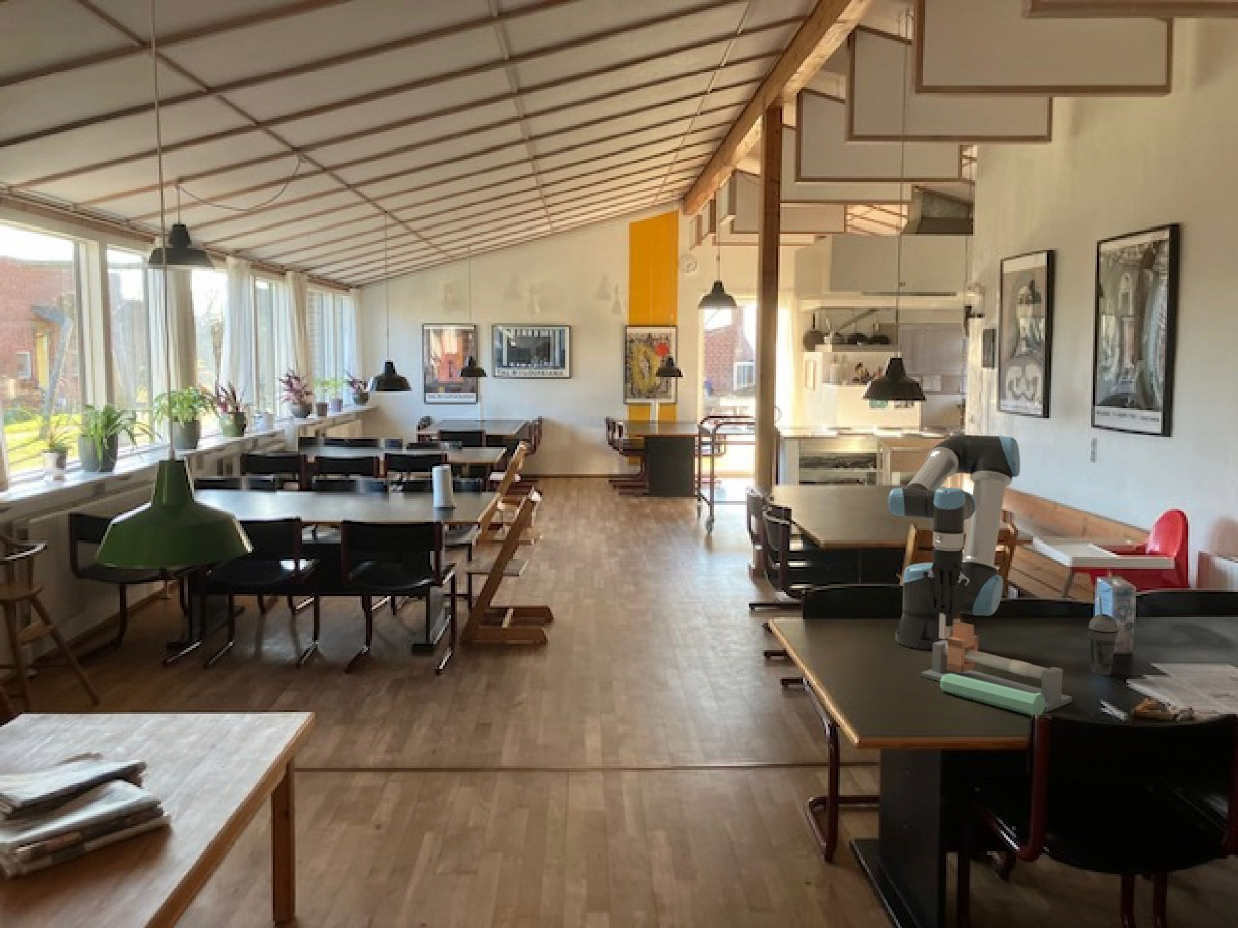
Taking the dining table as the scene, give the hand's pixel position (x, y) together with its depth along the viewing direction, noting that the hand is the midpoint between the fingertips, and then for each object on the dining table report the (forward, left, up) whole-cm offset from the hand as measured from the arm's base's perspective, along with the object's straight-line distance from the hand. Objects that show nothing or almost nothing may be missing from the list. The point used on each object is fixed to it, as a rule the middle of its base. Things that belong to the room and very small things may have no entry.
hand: (944, 637), depth 262 cm
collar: (+5, 0, -7) cm, 9 cm away
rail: (+14, 0, -10) cm, 17 cm away
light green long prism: (+19, -10, -11) cm, 24 cm away
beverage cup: (+24, +35, -10) cm, 44 cm away
